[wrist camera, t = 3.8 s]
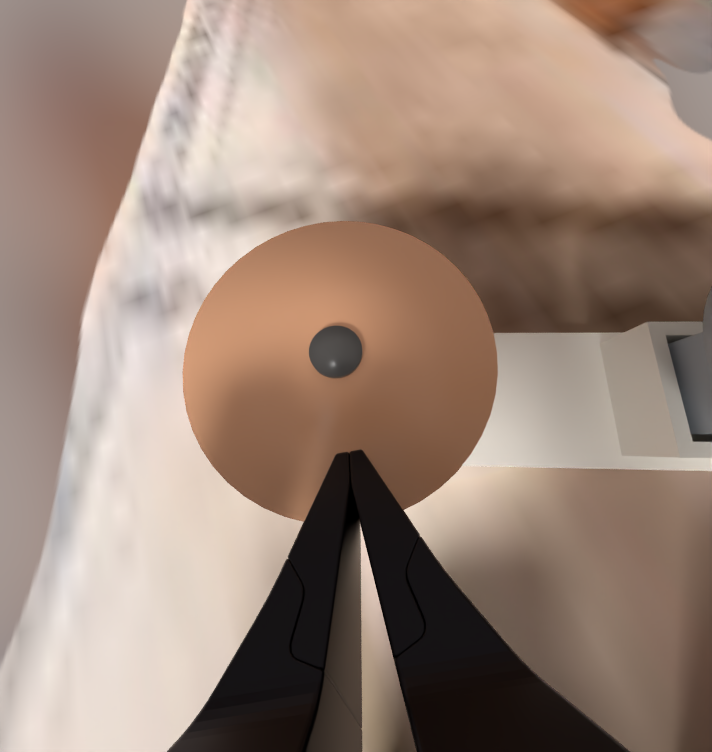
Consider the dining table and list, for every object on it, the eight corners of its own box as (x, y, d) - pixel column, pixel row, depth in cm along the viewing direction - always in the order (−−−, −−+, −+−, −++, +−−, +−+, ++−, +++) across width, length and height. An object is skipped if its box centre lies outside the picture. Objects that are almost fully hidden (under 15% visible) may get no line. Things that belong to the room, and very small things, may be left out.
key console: (732, 340, 21) (841, 307, 16) (773, 471, 19) (914, 479, 14) (269, 341, 23) (241, 312, 18) (257, 460, 20) (222, 464, 16)
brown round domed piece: (446, 292, 18) (485, 211, 12) (460, 498, 15) (520, 533, 9) (257, 294, 19) (202, 219, 13) (236, 492, 16) (150, 521, 10)
